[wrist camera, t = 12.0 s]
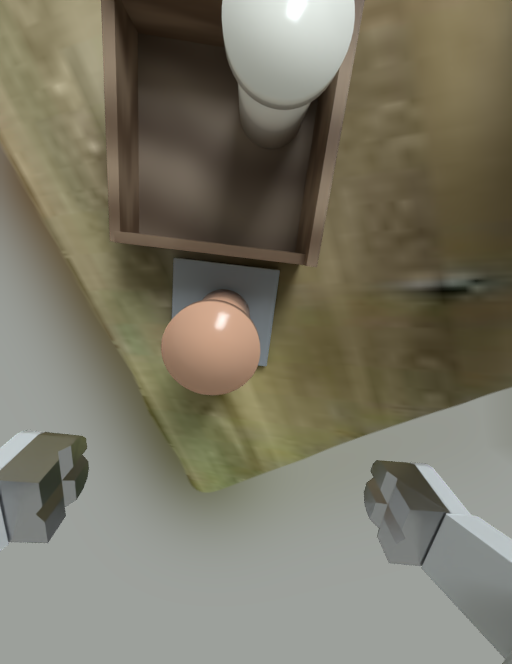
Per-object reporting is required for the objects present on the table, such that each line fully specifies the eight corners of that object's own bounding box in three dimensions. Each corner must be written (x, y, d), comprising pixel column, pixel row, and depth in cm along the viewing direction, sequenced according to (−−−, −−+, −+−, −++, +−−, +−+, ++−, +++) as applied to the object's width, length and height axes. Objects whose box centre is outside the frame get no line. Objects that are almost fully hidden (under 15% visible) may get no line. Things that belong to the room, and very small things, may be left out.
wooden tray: (129, 23, 21) (81, -68, 15) (333, 58, 22) (367, -15, 16) (132, 241, 26) (96, 240, 20) (300, 261, 27) (316, 267, 21)
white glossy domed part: (235, 57, 22) (227, -88, 12) (316, 70, 22) (368, -60, 13) (228, 151, 24) (216, 88, 14) (302, 161, 24) (339, 108, 15)
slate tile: (175, 257, 27) (173, 257, 26) (278, 269, 27) (279, 270, 27) (172, 354, 30) (170, 357, 29) (265, 363, 30) (266, 366, 30)
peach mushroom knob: (193, 279, 27) (162, 297, 17) (259, 286, 27) (266, 308, 17) (189, 342, 28) (160, 390, 19) (252, 348, 29) (254, 399, 19)
